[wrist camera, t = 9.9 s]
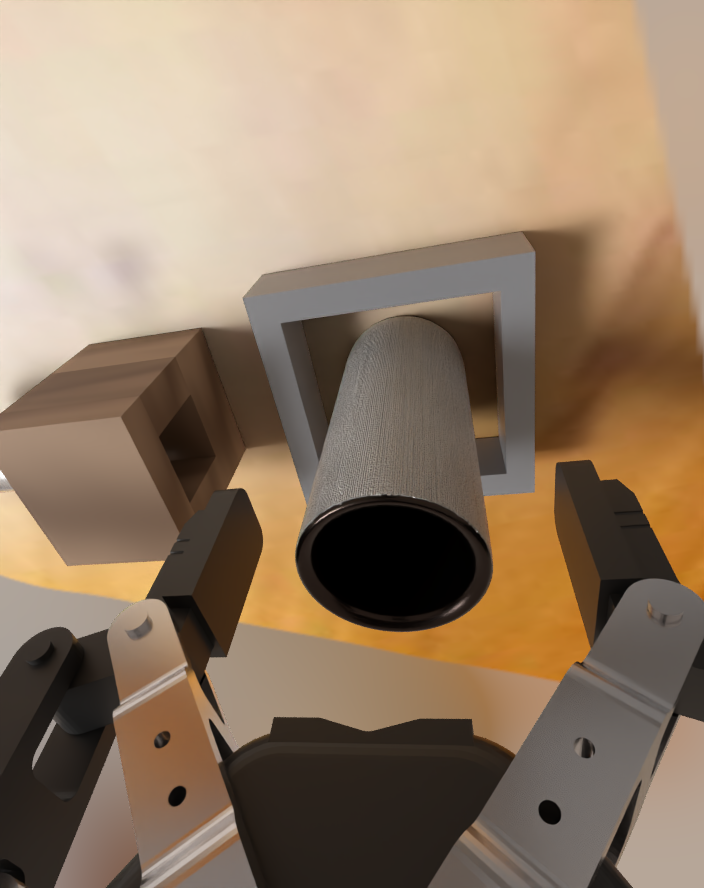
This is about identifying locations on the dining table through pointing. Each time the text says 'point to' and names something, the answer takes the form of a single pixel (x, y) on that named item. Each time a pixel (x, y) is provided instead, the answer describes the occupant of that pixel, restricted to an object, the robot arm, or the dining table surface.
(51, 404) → the guide block
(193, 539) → the robot arm
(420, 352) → the grey cylinder
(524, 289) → the grey open frame
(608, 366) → the dining table surface
